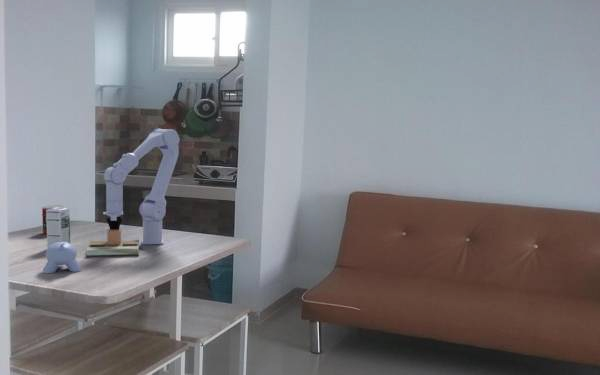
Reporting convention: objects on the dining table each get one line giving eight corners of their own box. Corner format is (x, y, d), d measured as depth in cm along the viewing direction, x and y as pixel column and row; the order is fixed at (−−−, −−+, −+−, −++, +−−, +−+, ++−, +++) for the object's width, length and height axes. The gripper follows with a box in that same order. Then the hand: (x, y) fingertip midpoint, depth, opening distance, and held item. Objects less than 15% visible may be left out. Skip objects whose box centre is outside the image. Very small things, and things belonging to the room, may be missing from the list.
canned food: (38, 233, 244) (38, 206, 242) (52, 230, 251) (51, 204, 250) (54, 235, 241) (54, 208, 240) (67, 232, 249) (67, 205, 248)
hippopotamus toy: (79, 262, 197) (78, 233, 196) (81, 273, 184) (81, 242, 183) (43, 264, 193) (42, 235, 192) (43, 276, 179) (42, 244, 178)
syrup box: (61, 250, 215) (60, 209, 213) (46, 249, 216) (45, 208, 214) (70, 247, 220) (70, 207, 219) (56, 246, 221) (55, 206, 220)
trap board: (90, 247, 220) (90, 240, 220) (138, 246, 225) (138, 239, 224) (86, 257, 205) (86, 249, 205) (138, 255, 209) (138, 248, 209)
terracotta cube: (108, 241, 219) (108, 229, 218) (121, 241, 220) (121, 229, 220) (107, 244, 215) (107, 231, 214) (120, 244, 216) (120, 231, 215)
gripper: (104, 197, 225) (104, 233, 227) (101, 203, 211) (101, 241, 213) (124, 197, 227) (124, 233, 228) (122, 202, 213) (122, 240, 214)
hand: (114, 237), depth 221 cm, fingers closed
